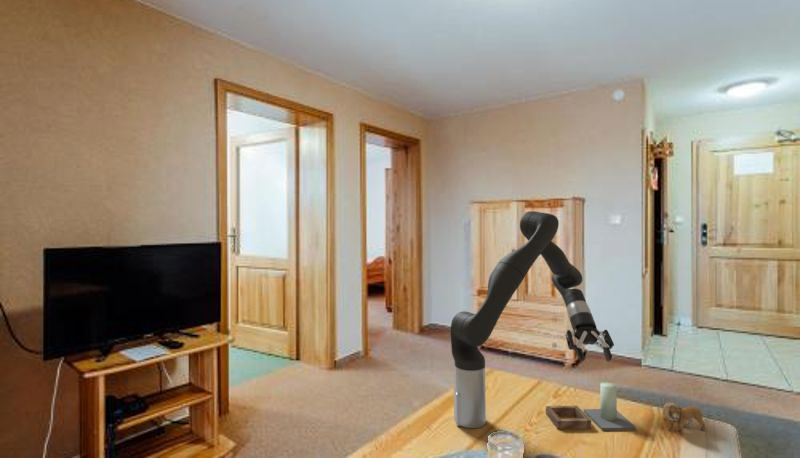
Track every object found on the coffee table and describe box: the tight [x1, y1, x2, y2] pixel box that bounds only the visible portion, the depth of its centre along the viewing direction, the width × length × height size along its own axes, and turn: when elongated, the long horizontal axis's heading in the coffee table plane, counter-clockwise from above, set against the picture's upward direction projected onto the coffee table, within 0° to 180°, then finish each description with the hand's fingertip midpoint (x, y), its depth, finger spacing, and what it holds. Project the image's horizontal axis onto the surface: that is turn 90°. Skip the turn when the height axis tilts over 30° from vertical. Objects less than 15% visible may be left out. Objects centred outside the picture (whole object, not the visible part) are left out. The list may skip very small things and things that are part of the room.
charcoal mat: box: [582, 408, 637, 432], centre depth 126 cm, size 10×12×1 cm
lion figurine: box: [662, 402, 706, 436], centre depth 119 cm, size 15×5×9 cm, turn 111°
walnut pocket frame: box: [545, 405, 592, 431], centre depth 126 cm, size 10×10×2 cm
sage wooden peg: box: [599, 381, 618, 421], centre depth 126 cm, size 4×4×10 cm
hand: (596, 360), depth 134 cm, fingers open, 8 cm apart
